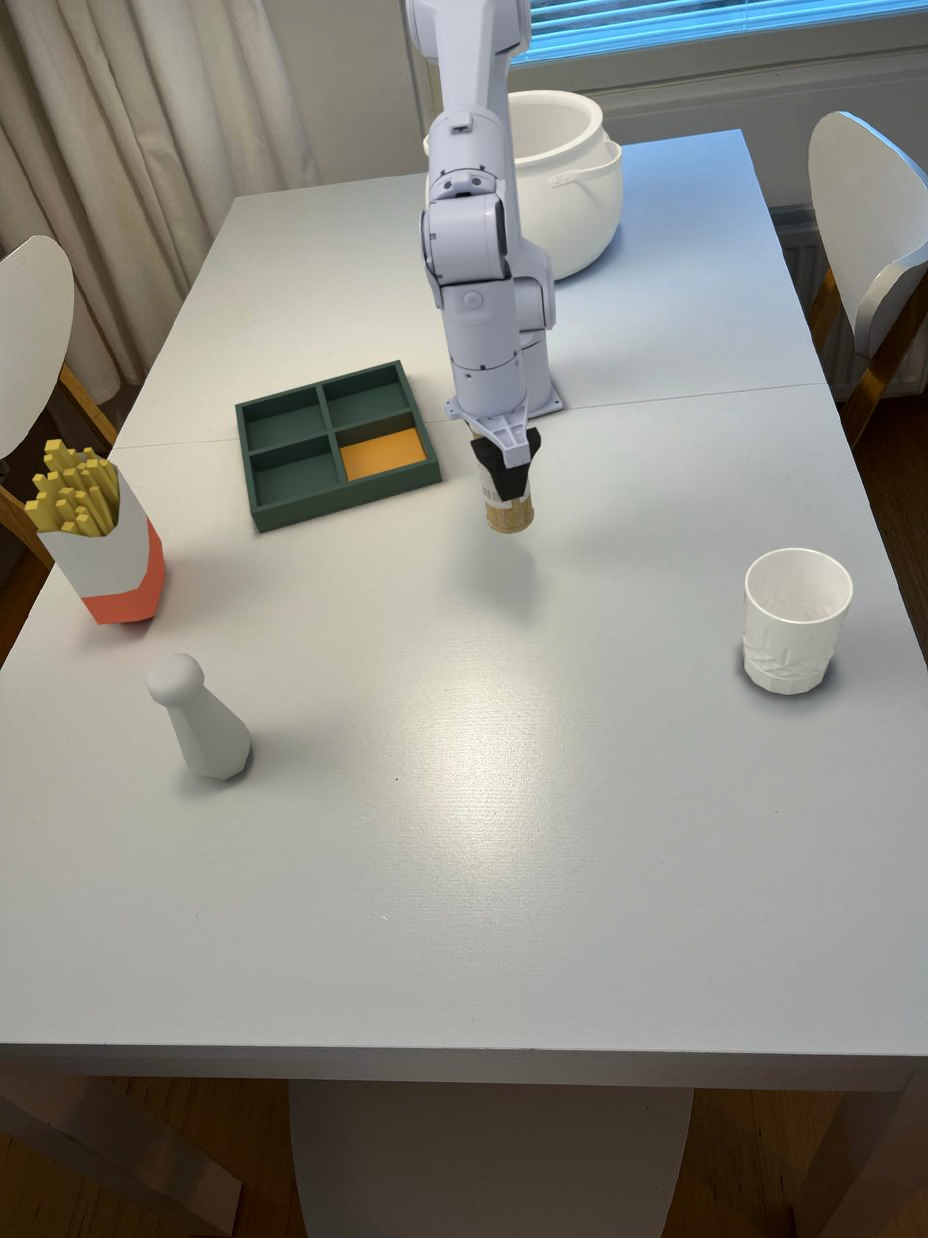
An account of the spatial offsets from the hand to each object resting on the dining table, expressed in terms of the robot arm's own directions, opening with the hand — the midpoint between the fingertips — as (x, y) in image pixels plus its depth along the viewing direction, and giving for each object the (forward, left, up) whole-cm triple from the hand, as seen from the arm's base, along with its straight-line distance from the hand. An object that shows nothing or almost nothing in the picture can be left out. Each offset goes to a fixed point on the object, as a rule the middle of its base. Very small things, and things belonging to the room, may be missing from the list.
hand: (504, 479), depth 84 cm
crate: (-24, -14, -10) cm, 30 cm away
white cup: (+21, +18, -11) cm, 29 cm away
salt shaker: (+14, -30, -11) cm, 35 cm away
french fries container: (-9, -37, -11) cm, 40 cm away
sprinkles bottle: (0, 0, -5) cm, 5 cm away
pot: (-57, +19, -11) cm, 61 cm away
